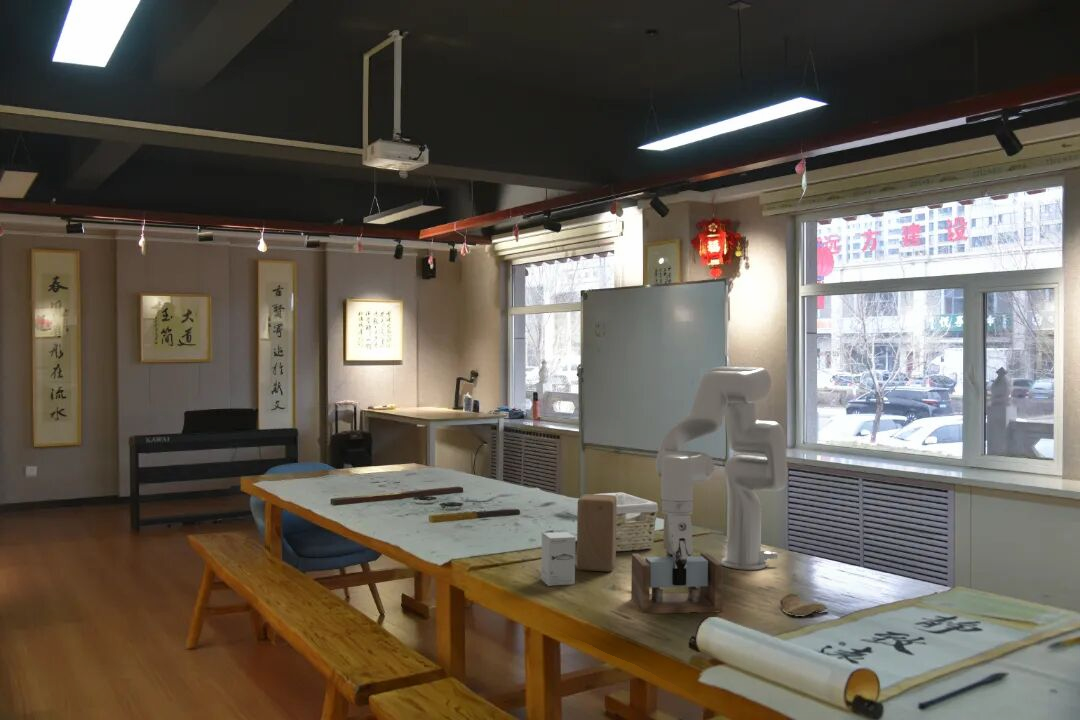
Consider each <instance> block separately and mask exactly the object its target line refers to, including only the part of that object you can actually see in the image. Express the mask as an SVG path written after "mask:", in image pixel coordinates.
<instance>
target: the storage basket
mask: <svg viewBox="0 0 1080 720" xmlns="http://www.w3.org/2000/svg"><path fill="white" fill-rule="evenodd" d="M595 495H614V496H616V499H617V506H616V552H626V551H627V552H630V551H639V550H648V549H649V550H650V549H652V548H653V547H654V540H655V530H656V521H657V513H658V512H659V508H658V503H657V502H655V501H652V500H648V499H645V498H641V497H638V496H635V495H631V494H628V493H625V492H623V491H621V492H619V491H618V492H605V493H595Z"/></svg>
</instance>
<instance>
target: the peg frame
mask: <svg viewBox="0 0 1080 720" xmlns="http://www.w3.org/2000/svg"><path fill="white" fill-rule="evenodd" d="M700 556H702V557H703V558H705V559H706V560H707V561H708V586H699V588H697V586H694V587H687V588H688V589H687V592H685V593H684V592H683V593H682V592H679V593H673V592H672V593H663V591H664V590H663V589H661V587H652V588H651V593H650V587H649V585H650V565H649V564H648V563H647V562H646V559H644V558H643V557H642V556H641V555H640V554H639V553H632V554H631V594H630V597H631V598H630V599H631V602H632V603H633V604H634V605H635V606H636V608H637V609H638V610H639V611H640V612H642V613H650V614H678V613H679V614H681V613H682V614H685V613H686V614H689V613H690V612H697V613H715V612H714V611H722V610H723V609H722V608H723V607H722V605H723V564H722V563H721V562H720V561H719V560H717V559H716V558H715V557H713V556H712V555H711V554H709V553H708V552H700ZM712 611H713V612H712ZM722 612H723V611H722ZM642 613H641V614H642ZM690 614H691V613H690Z"/></svg>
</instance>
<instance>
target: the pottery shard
mask: <svg viewBox="0 0 1080 720" xmlns="http://www.w3.org/2000/svg"><path fill="white" fill-rule="evenodd" d="M779 603H780V606H781V605H782V606H781V607H783V608H782V609H784V610H785V611H786V612H788V613H791V614H793V615H806V614H808V615H811V614H812V613H817V612H822V611H824V610H825V609H828V608H827V606H826V605H825V604H822V603H817V602H811V603H807V602H804V601H803V600H802V599H801V597H800V596H799V595H798V594H797V593H788V594H786V595H784V596H783V597H782V599H780V600H779ZM782 609H781V610H782ZM815 611H817V612H815Z"/></svg>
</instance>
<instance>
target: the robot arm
mask: <svg viewBox="0 0 1080 720" xmlns="http://www.w3.org/2000/svg"><path fill="white" fill-rule="evenodd" d="M771 386H772V379H771V375H770V373H769V371H768V370H767V369H766V368H763V367H761V366H760V367H759V366H758V367H757V366H756V367H755V366H726V365H725V366H716V367H712V368H710V369H709V370H708V371H707V372H706V374H704V375H703V376H702V378H701V380H700V383H699V386H698V389H697V391H696V394H695V397H694V400H693V403H692V406H691V409H690V412H689V414H688V415H687V416H686V417H684V418H682V419H681V420H680V421H678V422H676V424H674V426H672V427H671V428H670V429H669V430H668V431H667V432H666V434H665V435H664V436H663V438H662V441H661V443H660V446H659V448H658V452H657V455H656V459H655V471H656V473H657V475H658V476H659V477H660V479H661V484H660V485H661V487H660V488H661V489H660V490H661V491H660V492H661V496H660V497H661V498H660V499H661V500H660V501H661V502H660V512H661V514H664V515H663V531H662V532H663V535H662V538H663V548H664V549H665V551H666V557H673V559H674V568H673V577H672V584H673V585H686V563H687V556H693V527H692V526H693V525H692V517H691V515H692V514H693V512H694V511H693V509H694V508H693V507H694V505H693V504H694V503H693V502H694V501H693V500H694V499H693V497H694V496H693V494H694V483H695V484H696V483H698V484H702V483H705V482H707V481H709V480H710V479H711V478H712V476H713V475H714V471H715V463H714V460H713V458H712V456H710V455H709V454H708V453H705V452H701V451H690V450H679V449H680V448H681V447H682V446H683V445H686V444H687V443H689V442H691V441H693V440H697V439H699V438H702V437H705V436H708V435H711V434H713V433H715V432H717V431H718V430H719V429H720V428H721V426H722V424H723V420H724V417H725V427H726V428H725V429H726V438H727V439H726V440H727V445H728V447H729V449H730V450H731V451H733V452H735V453H741V454H739V455H738V454H737V455H736V454H735V455H733V456H731V457H729V458H728V459H727V460H726V462H725V464H724V477H725V482H726V483H725V485H726V491H727V492H726V493H727V521H726V522H727V529H726V530H727V531H726V532H727V535H726V539H727V542H726V557H722V558H721V562H720V563H721V564H722V566H724V567H727V568H729V569H730V568H731V569H734V570H744V571H746V570H747V571H754V570H755V571H756V570H763V569H765V568H766V567H767V562H766V561H767V560H769V559H770V560H777V559H778V553H777V552H776V551H775V552H773V551H772V552H771V551H765V550H763V549H762V503H761V501H760V498H759V496H758V495H757V493H756V492H755V491H766V492H767V491H769V492H780V491H783V490H784V489H785V487H786V485H787V484H788V461H787V459H788V458H787V447H786V437H785V436H786V435H785V431H784V428H783V426H782V424H780V423H778V421H773V420H760V419H758V418H757V414H756V413H757V412H756V403H757V402H759V401H761V400H763V399H764V398H766V397H767V396H768V394H769V392H770V390H771ZM745 454H746V455H745ZM748 454H754V455H748ZM758 455H763V456H758ZM754 490H755V491H754ZM677 558H680V559H678V562H677Z"/></svg>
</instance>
